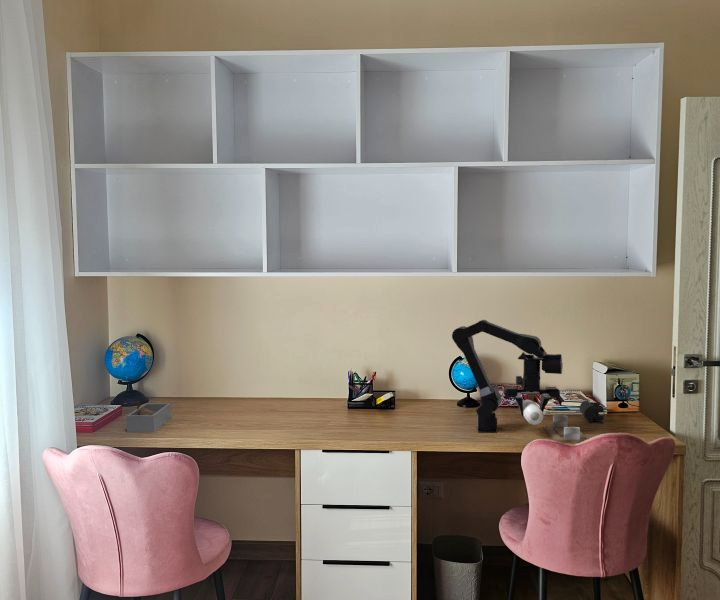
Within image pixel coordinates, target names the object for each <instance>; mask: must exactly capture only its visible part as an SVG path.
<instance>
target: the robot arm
mask: <svg viewBox="0 0 720 600" xmlns="http://www.w3.org/2000/svg"><path fill="white" fill-rule="evenodd" d="M480 333H485V334H488V335H491V336H492V337H495V338H498V339H500V340H503V341H504V342H507V343H511V344H512V345H514V346H515V347H517V348H518V349H520V350H521V351H523V352H521V354H520V355H519V356H518V357H517V359H518V360H522V361H523V376H522V375H516V376H515V385H516V386H520V388H517V387H516V386H507V385H506V386H505V387H504V388H503V394H504V397H506V398H512V399H513V400H515V401H516V403H517V406H518V409H519V412H520V415H521V416H522V417H524V416H523V401H524V399H523V397H522V395H539V398H540V402H539V408H540V410H541V411H542V412H543V413H544V411H545V408H546V406H547V404H548V403H549V401H552V400H553V398H561V391H560V389H559V388H558V387H557V386H545V388H541V370H542V371H543V372H544V373H545V374H554V375H555V374H557V375H562V374H563V356H562V354H561V353H556V354H553V353H550V354H549V353H547V352H546V350H545V349H544V347H543V346H542V341H541V339H540V338H539V337H538V336H536V335H531V334H525V333H518V332H516V331H513V330H510V329H508V328H505V327H503V326H501V325H500V326H499V325H498V324H495V323H492V322H490V321H488V320H486V319H481V320H479V321H477V322H476V323H474V324H471V325H469V326H465V325H464V326H463V325H462V326H459V327H457V328H456V329H454V330H453V331H452V334H451V338H452V340H453V343H454V344H455V345H456V346H457V348H458V349H459V350H460V351H461V352H462V354H463V356H464V358H465V360H466V362H467V364H468V366H469V369H470V370H471V373H472V375H473V378H474V380H475V382H476V384H477V386H478V389H479V395H480V396H479V397H480V401H481V404H480V405H479V406H478V408H477V409H476V410H475V412H476V430H477V432H478V433H497V430H498V418H497V414H496V413H495V412H496V411H497V410H498V408H499V407H500V406H501V404H502V397H503V395H502V394H501V393H500V390H499V387H498V386H495V387H494V386H493V385H492V384H491V383H490V380H489V378H488V376H487V374H486V372H485V369H484V367H483V365H482V362H481V361H480V360H481V359H480V357H479V356H478V353H477V352H476V349H475V345H474V339H473V336H476V335H478V334H480Z"/></svg>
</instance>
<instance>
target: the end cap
mask: <svg viewBox="0 0 720 600" xmlns="http://www.w3.org/2000/svg"><path fill="white" fill-rule="evenodd" d="M604 411H605V408H604V406H603V405H601V403H600V402H599V401H598V402H595V401H593V402H592V401H589V400H584V401H582V402H581V403H580V405H579V412H580V413H581V415H582V416H583V417H584V418H585V419H586V420H587V422H589V423H590V424H604V421H603V420H604V415H600V414H599V413H604Z"/></svg>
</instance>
